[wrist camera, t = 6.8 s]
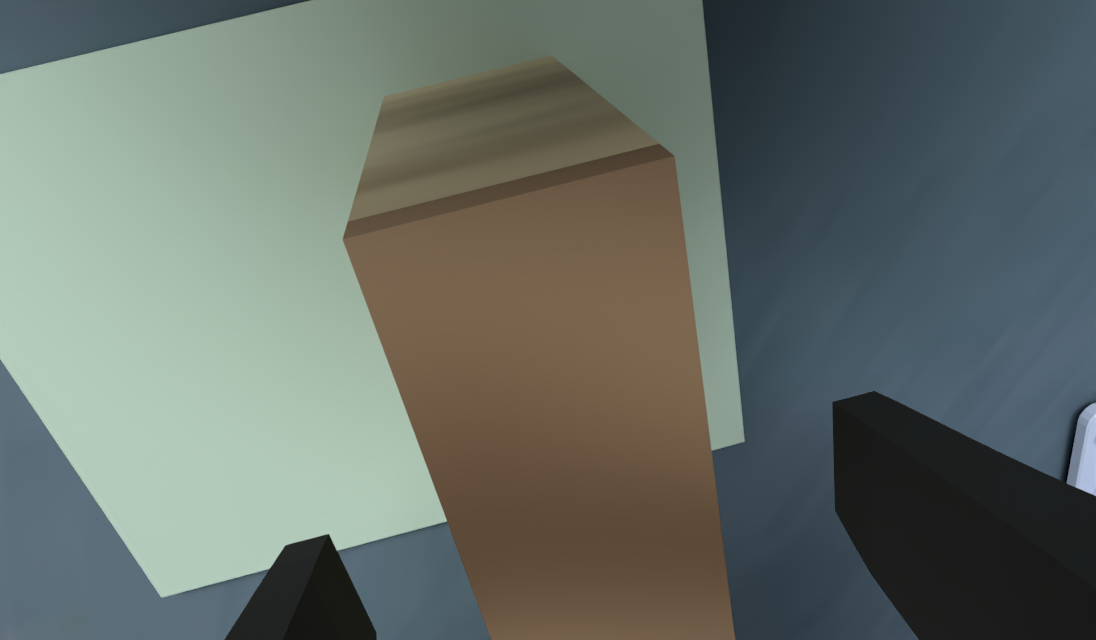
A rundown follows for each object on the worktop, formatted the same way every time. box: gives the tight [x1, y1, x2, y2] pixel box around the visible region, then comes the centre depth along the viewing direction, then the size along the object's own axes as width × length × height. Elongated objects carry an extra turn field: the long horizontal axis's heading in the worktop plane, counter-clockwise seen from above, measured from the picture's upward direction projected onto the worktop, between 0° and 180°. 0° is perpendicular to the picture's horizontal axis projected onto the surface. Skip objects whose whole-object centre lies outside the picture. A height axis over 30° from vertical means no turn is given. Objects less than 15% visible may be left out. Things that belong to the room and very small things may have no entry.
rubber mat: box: [0, 0, 745, 598], centre depth 15 cm, size 12×15×1 cm
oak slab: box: [343, 56, 735, 640], centre depth 12 cm, size 10×3×8 cm, turn 12°
